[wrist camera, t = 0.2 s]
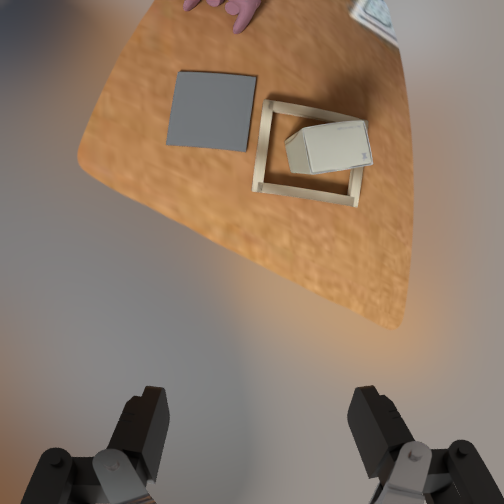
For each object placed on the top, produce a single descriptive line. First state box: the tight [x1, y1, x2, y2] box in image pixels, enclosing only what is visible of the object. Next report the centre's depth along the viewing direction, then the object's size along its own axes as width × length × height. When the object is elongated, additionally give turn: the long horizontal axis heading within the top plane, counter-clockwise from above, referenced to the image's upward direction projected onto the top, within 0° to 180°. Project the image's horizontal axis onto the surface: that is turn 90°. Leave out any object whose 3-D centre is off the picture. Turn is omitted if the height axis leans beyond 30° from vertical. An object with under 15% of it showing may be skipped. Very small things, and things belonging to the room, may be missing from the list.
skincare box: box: [285, 120, 373, 174], centre depth 30 cm, size 6×4×12 cm
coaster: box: [166, 72, 256, 152], centre depth 33 cm, size 10×10×1 cm
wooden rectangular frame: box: [251, 99, 368, 207], centre depth 35 cm, size 11×13×2 cm
